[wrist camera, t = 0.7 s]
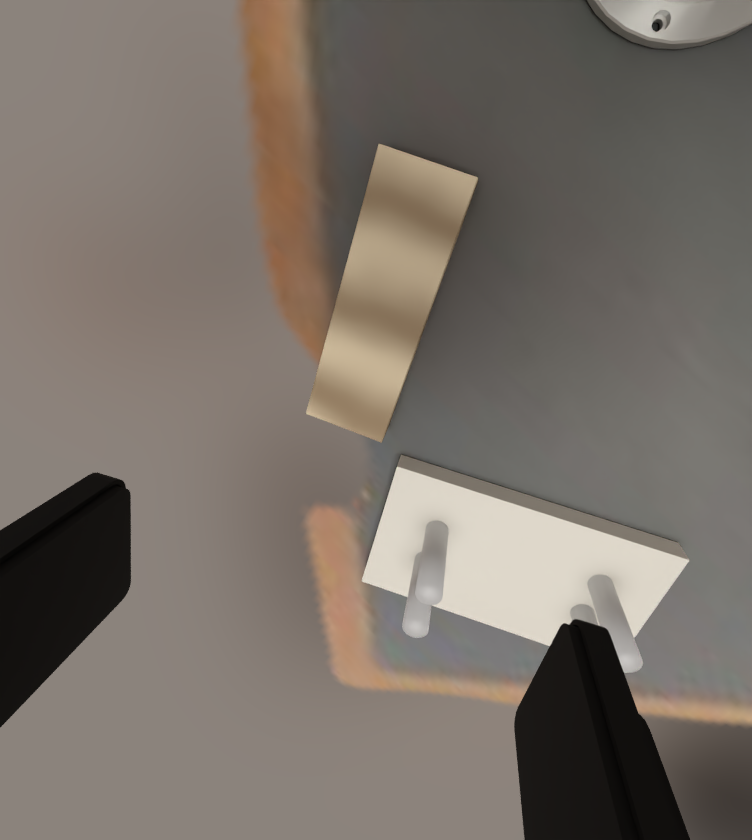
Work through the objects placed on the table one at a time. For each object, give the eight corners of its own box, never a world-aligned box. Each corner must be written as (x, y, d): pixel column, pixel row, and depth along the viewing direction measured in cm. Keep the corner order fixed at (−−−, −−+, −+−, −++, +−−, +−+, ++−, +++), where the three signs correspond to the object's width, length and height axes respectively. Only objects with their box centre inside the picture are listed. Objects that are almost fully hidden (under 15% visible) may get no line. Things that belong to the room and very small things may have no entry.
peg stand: (400, 454, 37) (379, 520, 28) (678, 542, 35) (739, 639, 27) (366, 565, 42) (340, 648, 34) (606, 647, 40) (640, 755, 32)
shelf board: (388, 151, 29) (378, 143, 26) (478, 181, 29) (477, 177, 26) (318, 399, 37) (305, 413, 34) (388, 426, 36) (381, 442, 34)
